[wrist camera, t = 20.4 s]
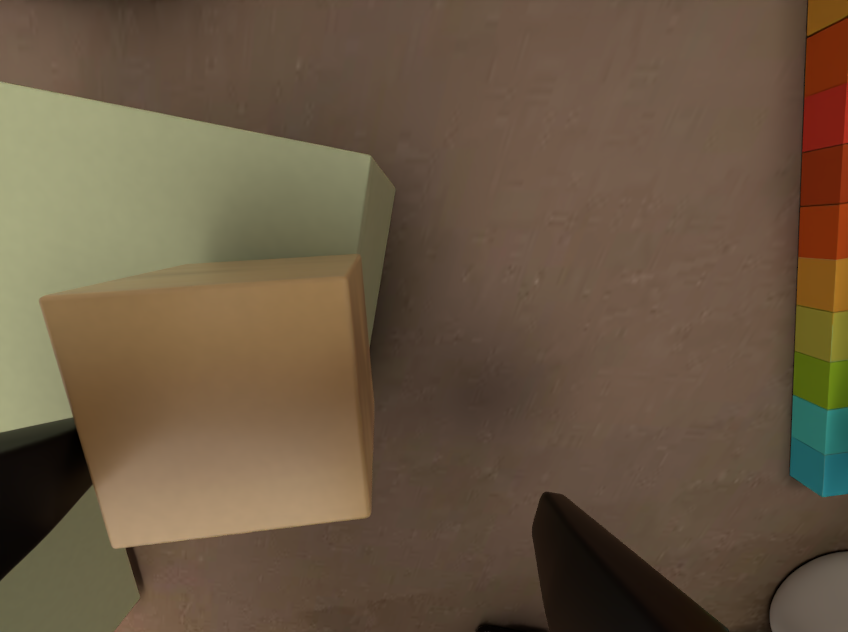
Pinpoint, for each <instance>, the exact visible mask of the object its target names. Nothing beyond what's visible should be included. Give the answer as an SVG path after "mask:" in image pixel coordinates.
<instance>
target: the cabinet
mask: <svg viewBox="0 0 848 632" xmlns="http://www.w3.org/2000/svg"><path fill="white" fill-rule="evenodd" d="M395 191H396V188H395V187H394V185H393V184H392V183H391V182H390V180H389V179H388V178H387V176H386V175H385V174H384V172H383V171H382V170H381V169H380V167H379V166H378V165H377V163H376V162H375V161H374V159H373V158H372V156H371V155H368V154H363V153H358V152H353V151H348V150H343V149H338V148H333V147H328V146H322V145H317V144H312V143H307V142H302V141H297V140H292V139H287V138H282V137H277V136H272V135H267V134H262V133H257V132H252V131H247V130H242V129H237V128H232V127H227V126H222V125H217V124H212V123H207V122H202V121H197V120H192V119H187V118H182V117H177V116H172V115H167V114H162V113H157V112H152V111H147V110H142V109H137V108H132V107H127V106H121V105H116V104H111V103H106V102H101V101H96V100H91V99H86V98H81V97H76V96H71V95H66V94H61V93H56V92H51V91H46V90H41V89H36V88H31V87H26V86H21V85H16V84H11V83H6V82H1V81H0V432H5V431H10V430H15V429H19V428H24V427H29V426H34V425H38V424H43V423H48V422H53V421H57V420H62V419H67V418H72V417H73V415H72V412H71V409H70V405H69V402H68V398H67V395H66V392H65V388H64V385H63V382H62V378H61V375H60V371H59V368H58V365H57V361H56V358H55V355H54V351H53V348H52V344H51V341H50V338H49V334H48V331H47V327H46V324H45V321H44V317H43V314H42V311H41V307H40V304H39V298H41V297H42V296H44V295H48V294H53V293H57V292H62V291H66V290H71V289H75V288H80V287H84V286H89V285H94V284H98V283H103V282H107V281H112V280H116V279H121V278H125V277H130V276H134V275H139V274H144V273H148V272H153V271H157V270H162V269H166V268H171V267H175V266H180V265H184V264H196V263H213V262H229V261H246V260H263V259H280V258H296V257H313V256H330V255H346V254H360V256H361V260H362V272H363V283H364V294H365V305H366V316H367V328H368V339H369V348H370V342H371V336H372V330H373V323H374V317H375V311H376V305H377V299H378V293H379V287H380V281H381V275H382V269H383V263H384V257H385V251H386V245H387V239H388V233H389V227H390V221H391V215H392V209H393V203H394V197H395Z"/></svg>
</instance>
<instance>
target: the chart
mask: <svg viewBox="0 0 848 632" xmlns="http://www.w3.org/2000/svg"><path fill="white" fill-rule="evenodd" d="M811 35H813V36H811ZM807 36H811V37H809V38H807V46H806V71H805V97H804V123H803V149H802V152H805V153H802V175H801V200H800V206H804V207H800V226H799V252H798V278H797V304H796V305H797V306H796V330H795V355H794V381H793V394H794V395H793V407H792V433H791V459H790V476H792V477H793V478H795V479H796V480H798V481H799V482H800V483H802V484H803V485H805V486H806V487H808V488H809V489H811V490H812V491H814V492H815V493H817V494H818V495H820V496H821V497H828V496H836V495H843V494H848V0H808V20H807ZM813 150H815V151H813ZM807 151H810V152H807ZM808 205H810V206H808Z"/></svg>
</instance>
